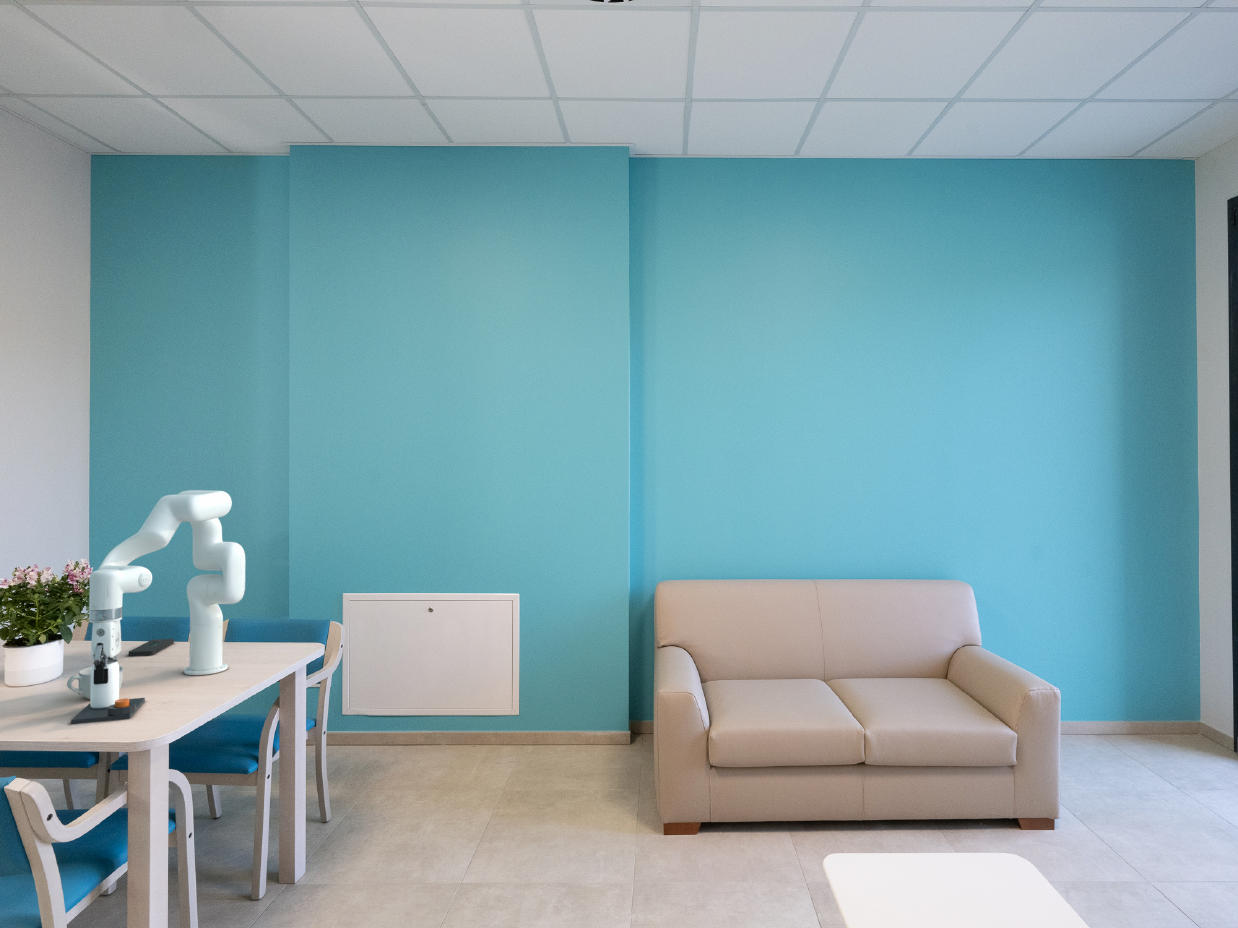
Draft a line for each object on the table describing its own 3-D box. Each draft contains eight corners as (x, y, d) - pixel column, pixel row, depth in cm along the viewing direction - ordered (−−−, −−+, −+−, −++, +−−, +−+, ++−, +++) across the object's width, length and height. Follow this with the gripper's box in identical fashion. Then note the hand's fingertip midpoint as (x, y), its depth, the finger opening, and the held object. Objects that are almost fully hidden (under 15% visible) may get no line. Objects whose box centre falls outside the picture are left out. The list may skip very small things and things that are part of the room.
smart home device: (175, 638, 285) (152, 650, 266) (175, 642, 285) (152, 655, 266) (151, 639, 284) (127, 651, 264) (151, 643, 284) (127, 656, 264)
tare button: (116, 705, 200) (116, 698, 200) (130, 704, 201) (130, 697, 201) (113, 709, 197) (113, 702, 197) (127, 707, 198) (127, 701, 198)
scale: (90, 706, 207) (90, 695, 207) (147, 701, 212) (147, 690, 212) (71, 724, 192) (71, 712, 192) (132, 718, 197) (132, 707, 197)
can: (84, 707, 202) (84, 663, 202) (107, 700, 208) (107, 657, 208) (102, 710, 200) (102, 665, 200) (124, 703, 206) (125, 659, 206)
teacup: (115, 689, 224) (116, 662, 224) (128, 695, 217) (129, 668, 217) (59, 699, 213) (60, 671, 213) (71, 707, 206) (71, 678, 206)
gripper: (112, 619, 198) (111, 687, 197) (130, 608, 214) (129, 671, 214) (79, 621, 195) (78, 690, 195) (99, 610, 211) (98, 673, 211)
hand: (104, 679), depth 204 cm, fingers closed on can, 6 cm apart
